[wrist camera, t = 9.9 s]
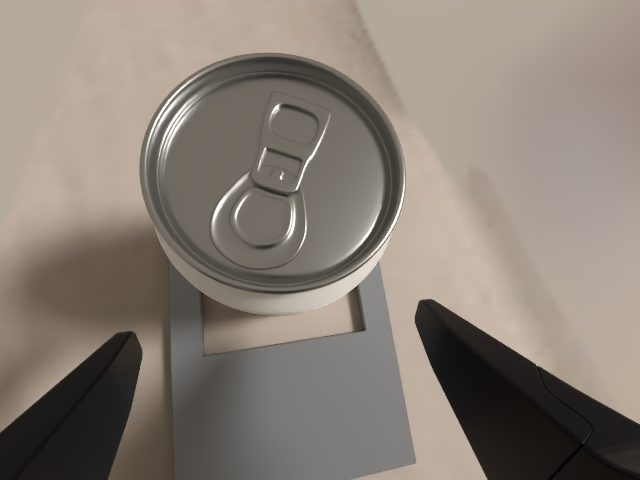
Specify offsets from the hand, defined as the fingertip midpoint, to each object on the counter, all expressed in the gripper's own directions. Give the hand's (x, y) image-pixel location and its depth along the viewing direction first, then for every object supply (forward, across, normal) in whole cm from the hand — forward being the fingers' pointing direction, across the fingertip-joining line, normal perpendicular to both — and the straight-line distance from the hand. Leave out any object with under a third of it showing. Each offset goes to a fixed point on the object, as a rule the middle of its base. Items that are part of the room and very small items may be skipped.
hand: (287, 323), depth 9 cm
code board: (+5, 0, +6) cm, 8 cm away
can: (+8, 0, +3) cm, 9 cm away
